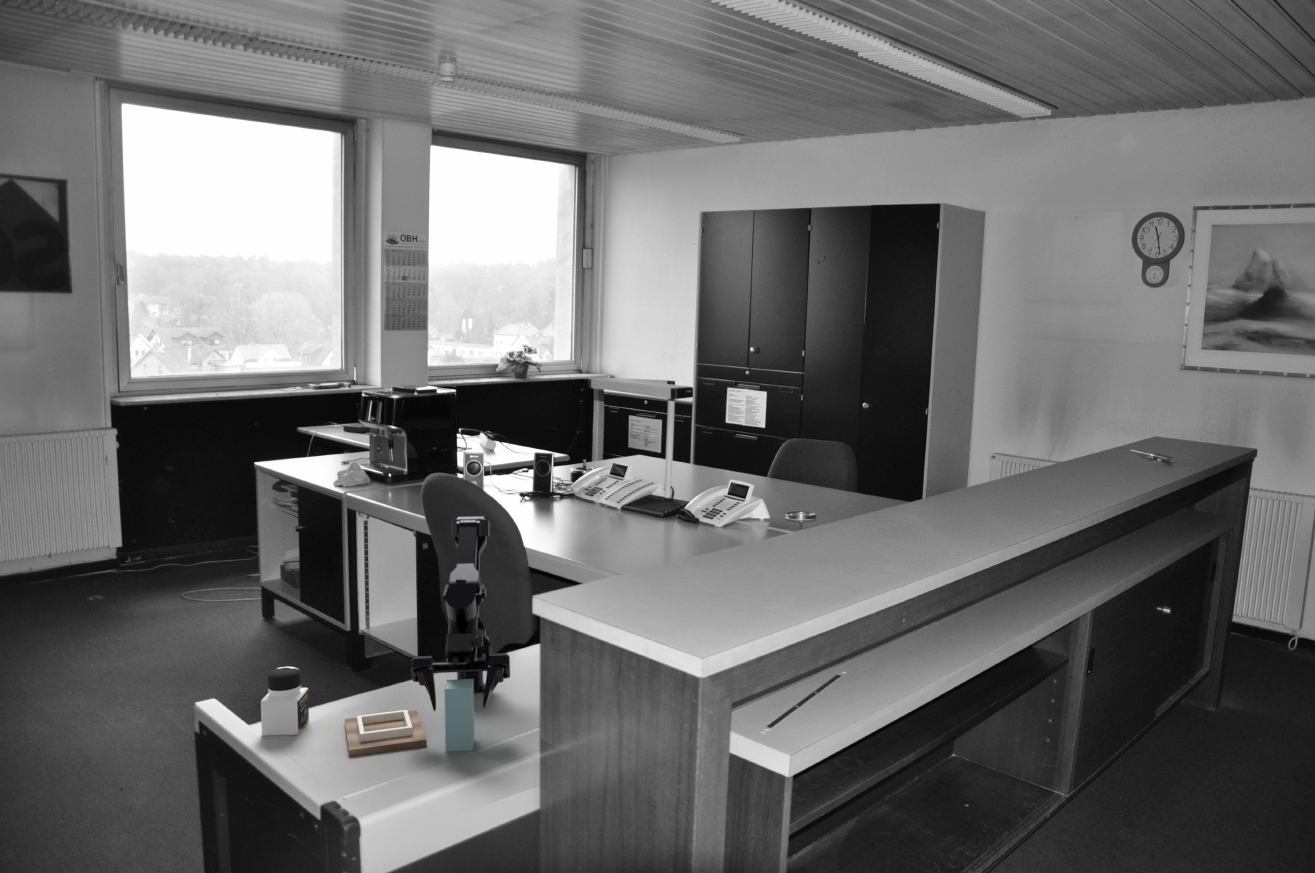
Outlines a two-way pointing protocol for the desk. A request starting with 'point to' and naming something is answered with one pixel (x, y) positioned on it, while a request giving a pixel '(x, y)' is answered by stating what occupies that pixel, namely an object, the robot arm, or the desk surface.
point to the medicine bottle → (284, 703)
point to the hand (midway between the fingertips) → (459, 708)
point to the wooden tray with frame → (384, 732)
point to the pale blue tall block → (459, 715)
